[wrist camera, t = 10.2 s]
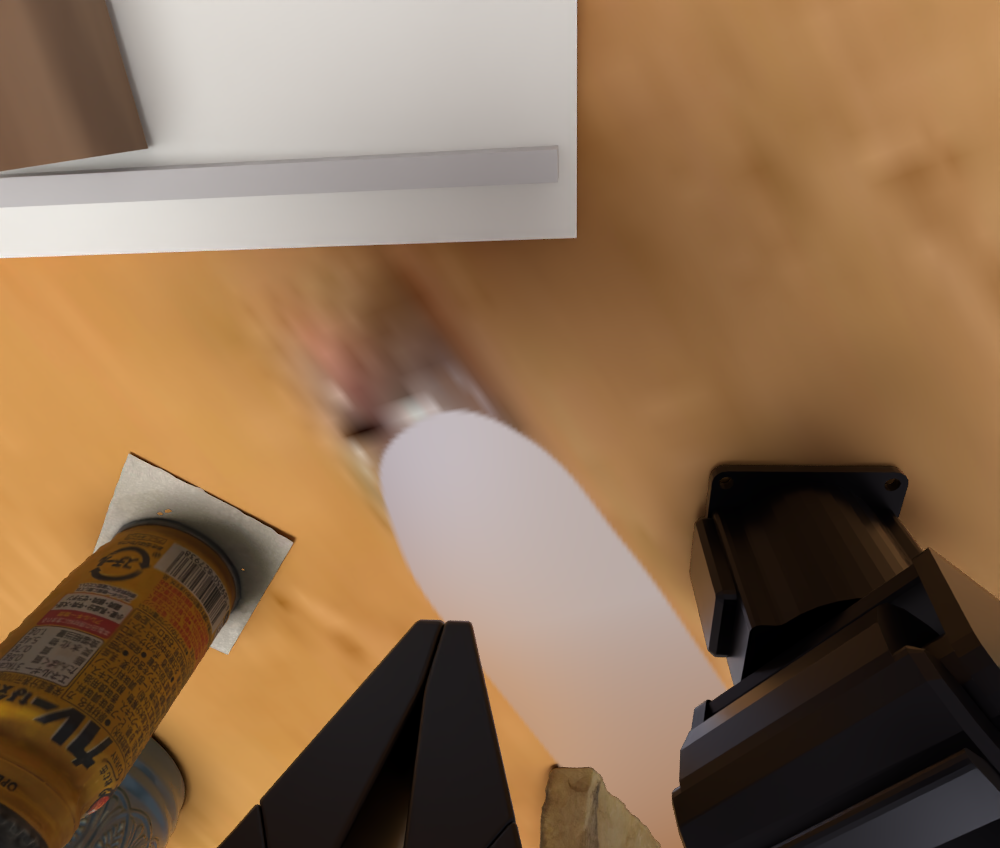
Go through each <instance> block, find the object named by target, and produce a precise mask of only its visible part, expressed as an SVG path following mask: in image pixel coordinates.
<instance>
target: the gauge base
mask: <svg viewBox="0 0 1000 848" xmlns="http://www.w3.org/2000/svg"><path fill="white" fill-rule="evenodd" d="M105 2H106V5H107V9H108V12H109V16H110V19H111V23H112V26H113V29H114V33H115V36H116V40H117V43H118V46H119V50H120V53H121V57H122V60H123V63H124V67H125V70H126V74H127V77H128V81H129V84H130V87H131V91H132V94H133V98H134V101H135V104H136V108H137V111H138V115H139V118H140V121H141V125H142V128H143V132H144V135H145V139H146V142H147V145H148V149H142V150H136V151H129V152H123V153H117V154H110V155H104V156H97V157H91V158H84V159H78V160H71V161H65V162H59V163H52V164H46V165H39V166H33V167H26V168H20V169H13V170H7V171H1V172H0V258H16V257H45V256H73V255H102V254H130V253H159V252H187V251H216V250H244V249H273V248H301V247H330V246H358V245H387V244H415V243H444V242H472V241H501V240H529V239H558V238H577V0H105Z"/></svg>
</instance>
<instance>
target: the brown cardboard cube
mask: <svg viewBox="0 0 1000 848" xmlns="http://www.w3.org/2000/svg"><path fill="white" fill-rule="evenodd" d="M142 149H148V145H147V142H146V139H145V135H144V132H143V128H142V125H141V121H140V118H139V115H138V111H137V108H136V104H135V101H134V98H133V94H132V91H131V87H130V84H129V81H128V77H127V74H126V70H125V67H124V63H123V60H122V57H121V53H120V50H119V46H118V43H117V40H116V36H115V33H114V29H113V26H112V23H111V19H110V16H109V12H108V9H107V5H106V2H105V0H0V172H1V171H7V170H13V169H20V168H26V167H33V166H39V165H46V164H52V163H59V162H65V161H71V160H78V159H84V158H91V157H97V156H104V155H110V154H117V153H123V152H129V151H136V150H142Z"/></svg>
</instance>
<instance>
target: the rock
mask: <svg viewBox="0 0 1000 848" xmlns="http://www.w3.org/2000/svg"><path fill="white" fill-rule="evenodd" d="M545 791H546V799H545V802H544V805H543V807H542V814H541V838H540V848H660V847H661V846H660V843H659V842H658V841H657V840H655V839H654V837H653V836H652V835H651V833H650V831H649V829H648V828H647V827H646V826H645V825H643V824H642V823H641V822H640V820H639V819H638V818H637V817H636V816H634V815H632V814H631V813H630V812H629V810H627V809H626V807H625V805H624V803H622V802H621V801H620V800H619V799H618V798H617V797H615V796H612V795H611V794H610V793H609V792H608V791H607V790H606V787H605V784H604V782H603V779H602V777H601V775H600V774H598V773H597V772H596V771H595V770H594V769H593V768H589V767H584V768H568V767H560V768H554V769H553V770H552V771H551V772H550V774H549V780H548V783H547V786H546V790H545Z"/></svg>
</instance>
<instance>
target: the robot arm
mask: <svg viewBox="0 0 1000 848" xmlns="http://www.w3.org/2000/svg"><path fill="white" fill-rule="evenodd" d="M725 477H729V478H731V479H730V481H728V482H726V483H721V482H719V481H720V480H721V479H722V478H725ZM894 478H895V480H894V481H893V482H892V483H890V484H886V485H885V483H886V481H888V480H890V479H894ZM907 487H908V479H907V477H906V475H905V474H904V473H903V472H902V471H901V470H900V469H899V468H897V467H893V466H781V465H723V466H719V467H717V468H715V469H714V470H713V471H712V472H711V474H710V477H709V485H708V494H707V502H706V510H705V518H704V517H701V518H700V519H699V520H698V521H696V522H695V526H694V535H693V544H692V553H691V562H690V571H689V573H690V578H691V582H692V586H693V590H694V595H695V599H696V603H697V607H698V611H699V616H700V620H701V624H702V628H703V632H704V637H705V641H706V645H707V649H708V651H709V652H710V653H711V654H712V655H713V656H714V657H726V658H727V662H728V665H729V669H730V673H731V677H732V680H733V684H734V686H733V687H731V688H730V689H729V690H727V691H726V692H724V693H723V694H721V695H720V696H718V697H717V698H716V699H714V700H713V701H711V700H706V701H705V702H703V703H702V704H701V705H699V706H697V707H696V708H695V709H694V715H693V722H692V728H691V731H690V732H689V733H688V736H687V738H686V740H685V742H684V744H683V746H682V748H681V750H680V777H679V782H680V786H679V787H677V788H675V789H674V790H673V792H672V805H673V810H674V814H675V818H676V822H677V827H678V831H679V835H680V838H681V840H682V843H683V846H684V848H1000V600H998V599H997V598H996V597H994V596H993V595H992V594H991V593H989V592H988V591H987V590H985V589H984V588H983V587H981V586H980V585H979V584H977V583H976V582H975V581H973V580H972V579H971V578H969V577H968V576H967V575H966V574H964V573H963V572H962V571H960V570H959V569H958V568H956V567H955V566H954V565H952V564H951V563H950V562H948V561H947V560H946V559H944V558H943V557H942V556H941V555H939V554H938V553H937V552H935V551H934V550H933V549H931V548H927V549H926V550H924V551H922V550H921V548H920V547H919V546H918V544H917V543H916V542H915V540H914V539H913V538H912V536H911V535H910V534H909V532H908V531H907V530H906V528H905V527H904V526H903V524H902V523H901V522H900V520H899V519H898V517H899V514H900V511H901V507H902V504H903V500H904V497H905V494H906V490H907ZM217 848H522V845H521V840H520V836H519V831H518V827H517V824H516V821H515V815H514V810H513V806H512V801H511V797H510V792H509V788H508V783H507V779H506V774H505V770H504V765H503V761H502V756H501V752H500V747H499V742H498V738H497V733H496V729H495V724H494V720H493V715H492V711H491V706H490V702H489V697H488V693H487V688H486V684H485V679H484V675H483V670H482V666H481V662H480V657H479V653H478V648H477V644H476V639H475V634H474V630H473V626H472V624H471V622H469V621H447V622H446V623H444V622H443V621H441V620H419V621H417V622H416V623H415V624H414V625H413V626H412V627H411V628H410V629H409V631H408V632H407V633H406V634H405V635H404V636H403V637H402V639H401V640H400V641H399V642H398V643H397V644H396V645H395V647H394V648H393V649H392V650H391V651H390V652H389V653H388V655H387V656H386V657H385V658H384V659H383V660H382V661H381V663H380V664H379V665H378V666H377V667H376V668H375V669H374V671H373V672H372V673H371V674H370V675H369V676H368V677H367V679H366V680H365V681H364V682H363V683H362V684H361V685H360V686H359V688H358V689H357V690H356V691H355V692H354V693H353V694H352V696H351V697H350V698H349V699H348V700H347V701H346V702H345V704H344V705H343V706H342V707H341V708H340V709H339V710H338V712H337V713H336V714H335V715H334V716H333V717H332V718H331V720H330V721H329V722H328V723H327V724H326V725H325V726H324V728H323V729H322V730H321V731H320V732H319V733H318V734H317V736H316V737H315V738H314V739H313V740H312V741H311V742H310V744H309V745H308V746H307V747H306V748H305V749H304V750H303V751H302V753H301V754H300V755H299V756H298V757H297V758H296V759H295V761H294V762H293V763H292V764H291V765H290V766H289V767H288V769H287V770H286V771H285V772H284V773H283V774H282V775H281V777H280V778H279V779H278V780H277V781H276V782H275V783H274V785H273V786H272V787H271V788H270V789H269V790H268V791H267V793H266V794H265V795H264V796H263V797H262V798H261V800H260V805H258V804H257V805H255V806H254V807H253V808H252V809H251V810H250V812H249V813H248V814H247V815H246V816H245V817H244V818H243V820H242V821H241V822H240V823H239V824H238V825H237V826H236V828H235V829H234V830H233V831H232V832H231V833H230V834H229V835H228V836H227V837H226V838H225V840H224V841H223V842H222V843H221V844H220V845H219V846H218V847H217Z"/></svg>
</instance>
